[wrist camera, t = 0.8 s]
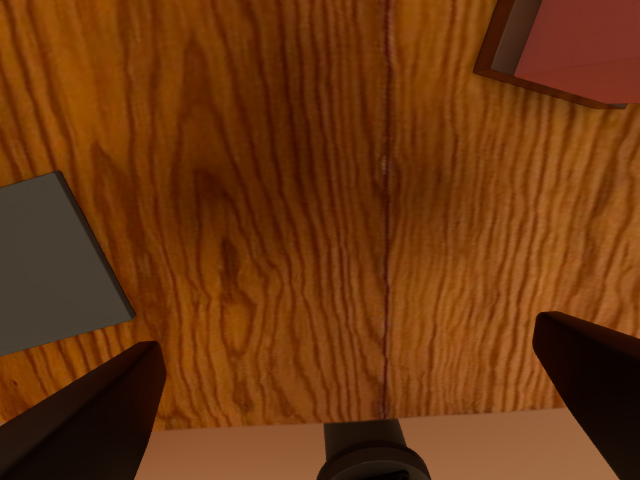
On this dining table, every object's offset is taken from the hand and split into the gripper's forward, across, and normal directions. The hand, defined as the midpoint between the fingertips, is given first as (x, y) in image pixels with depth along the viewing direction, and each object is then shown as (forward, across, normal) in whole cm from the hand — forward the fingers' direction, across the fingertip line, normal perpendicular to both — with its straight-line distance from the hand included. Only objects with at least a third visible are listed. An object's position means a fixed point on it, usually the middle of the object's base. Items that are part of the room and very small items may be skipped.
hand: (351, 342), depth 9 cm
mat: (+15, +19, +3) cm, 24 cm away
